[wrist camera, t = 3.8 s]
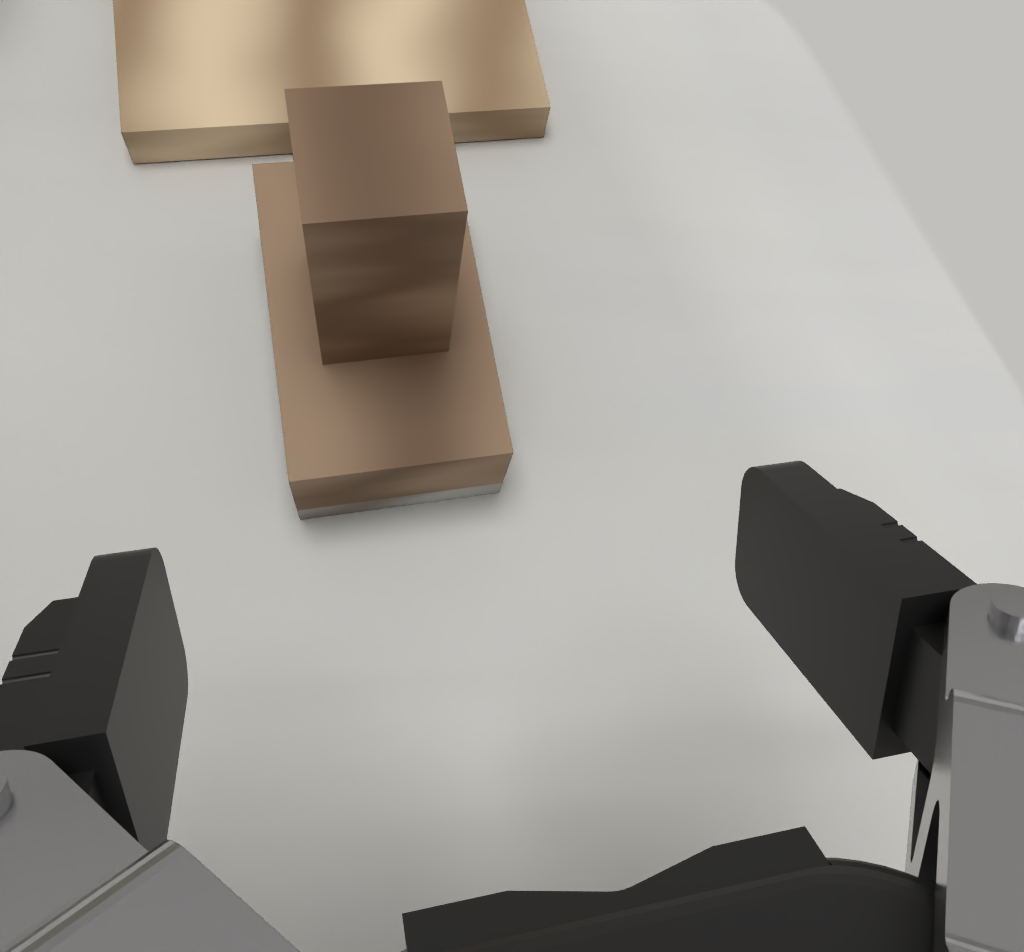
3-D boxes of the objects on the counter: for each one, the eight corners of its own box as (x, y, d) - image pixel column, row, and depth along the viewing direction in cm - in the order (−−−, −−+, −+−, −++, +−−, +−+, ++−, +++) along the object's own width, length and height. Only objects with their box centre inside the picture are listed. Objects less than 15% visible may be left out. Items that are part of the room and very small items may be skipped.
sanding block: (300, 520, 27) (255, 371, 18) (266, 233, 30) (213, -23, 21) (498, 493, 28) (554, 339, 19) (446, 219, 31) (471, -31, 22)
